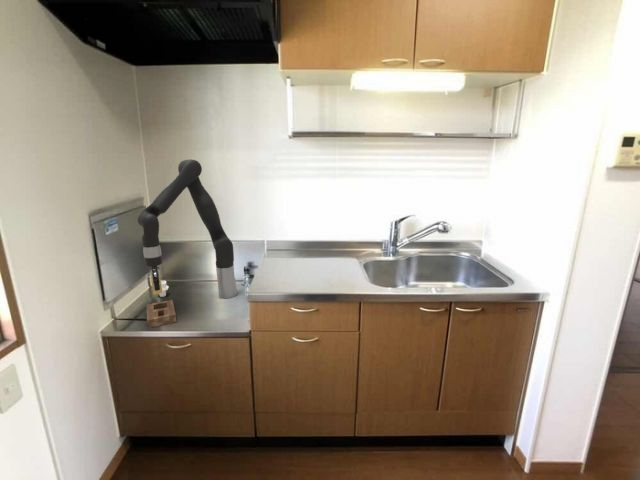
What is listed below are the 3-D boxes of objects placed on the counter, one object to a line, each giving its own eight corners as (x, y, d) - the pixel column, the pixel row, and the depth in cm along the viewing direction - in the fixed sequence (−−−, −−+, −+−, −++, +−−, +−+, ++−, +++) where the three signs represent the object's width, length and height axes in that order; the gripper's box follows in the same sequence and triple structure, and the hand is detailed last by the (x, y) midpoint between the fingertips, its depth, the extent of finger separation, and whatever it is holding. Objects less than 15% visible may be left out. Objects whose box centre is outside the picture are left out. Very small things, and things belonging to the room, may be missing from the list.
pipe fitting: (161, 292, 197) (159, 279, 195) (172, 294, 195) (170, 280, 193) (153, 297, 191) (151, 283, 189) (164, 298, 189) (162, 285, 187)
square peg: (162, 290, 172) (159, 274, 170) (162, 292, 169) (160, 277, 167) (153, 291, 171) (150, 276, 169) (153, 294, 167) (151, 278, 165)
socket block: (173, 306, 180) (172, 299, 179) (176, 322, 164) (175, 314, 163) (147, 311, 175) (146, 304, 174) (148, 328, 159) (147, 320, 158)
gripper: (162, 257, 160) (166, 292, 165) (160, 249, 173) (164, 282, 177) (144, 260, 157) (149, 295, 162) (143, 251, 169) (148, 284, 174)
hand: (157, 288), depth 169 cm, fingers closed on square peg, 4 cm apart
